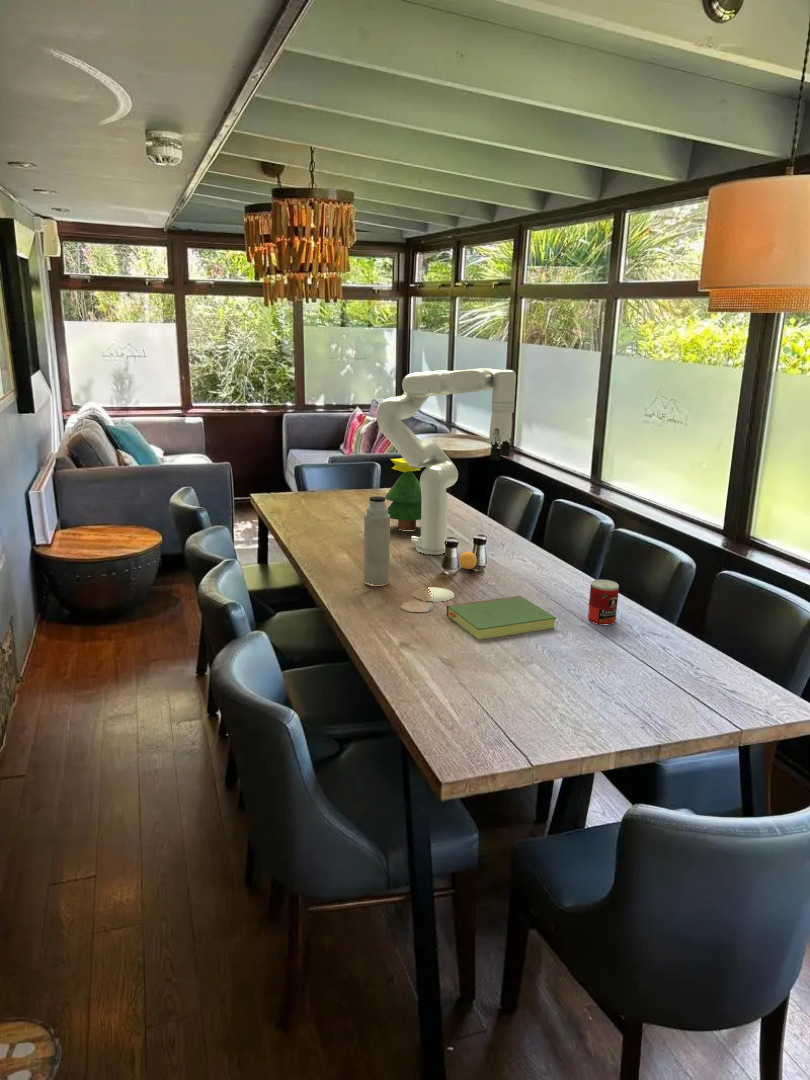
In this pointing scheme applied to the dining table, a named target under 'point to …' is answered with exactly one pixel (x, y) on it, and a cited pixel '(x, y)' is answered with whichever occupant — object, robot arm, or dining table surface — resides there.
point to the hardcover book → (500, 617)
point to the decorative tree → (405, 496)
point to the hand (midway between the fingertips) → (500, 457)
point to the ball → (468, 560)
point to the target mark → (440, 594)
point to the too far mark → (431, 607)
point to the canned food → (603, 601)
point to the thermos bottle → (376, 542)
